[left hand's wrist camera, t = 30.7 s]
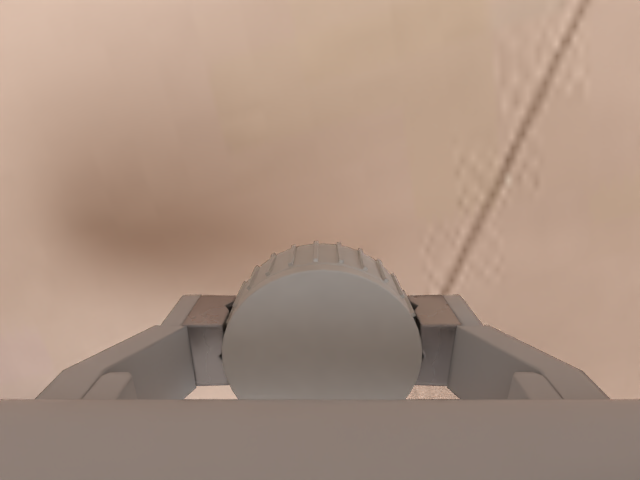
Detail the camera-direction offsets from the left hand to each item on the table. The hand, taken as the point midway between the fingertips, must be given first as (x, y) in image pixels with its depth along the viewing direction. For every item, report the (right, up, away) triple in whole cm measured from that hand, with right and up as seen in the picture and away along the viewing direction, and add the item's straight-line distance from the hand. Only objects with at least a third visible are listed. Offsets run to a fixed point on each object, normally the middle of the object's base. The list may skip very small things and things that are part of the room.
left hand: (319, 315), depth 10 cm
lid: (0, -1, -1) cm, 2 cm away
